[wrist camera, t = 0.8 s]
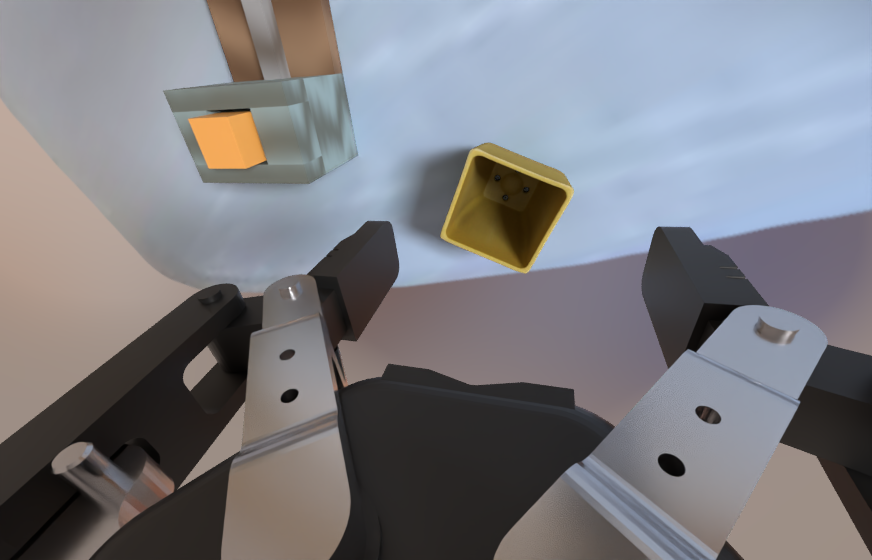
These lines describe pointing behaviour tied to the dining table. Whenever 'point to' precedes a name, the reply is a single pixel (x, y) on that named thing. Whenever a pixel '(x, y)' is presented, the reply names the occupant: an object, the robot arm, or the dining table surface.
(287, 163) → the rail rig
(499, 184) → the flower pot
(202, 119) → the button
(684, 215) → the dining table surface
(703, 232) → the dining table surface
